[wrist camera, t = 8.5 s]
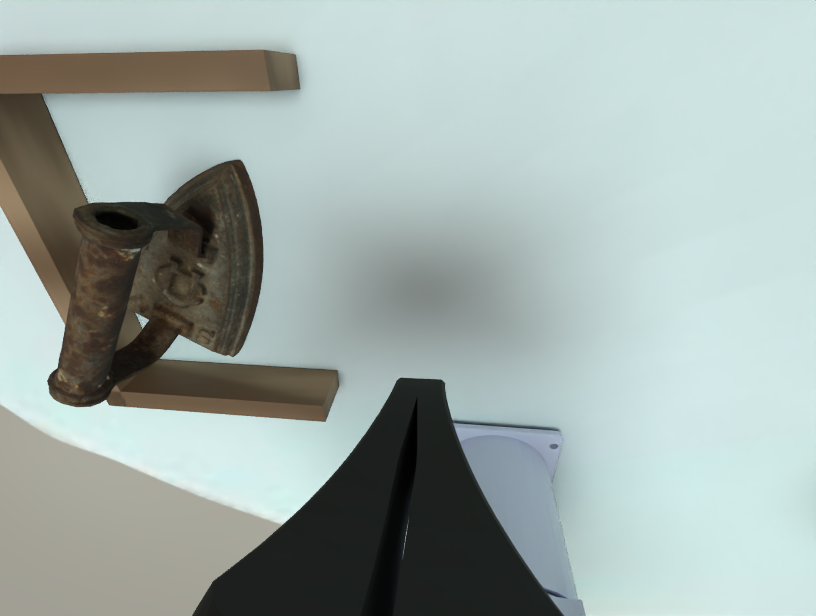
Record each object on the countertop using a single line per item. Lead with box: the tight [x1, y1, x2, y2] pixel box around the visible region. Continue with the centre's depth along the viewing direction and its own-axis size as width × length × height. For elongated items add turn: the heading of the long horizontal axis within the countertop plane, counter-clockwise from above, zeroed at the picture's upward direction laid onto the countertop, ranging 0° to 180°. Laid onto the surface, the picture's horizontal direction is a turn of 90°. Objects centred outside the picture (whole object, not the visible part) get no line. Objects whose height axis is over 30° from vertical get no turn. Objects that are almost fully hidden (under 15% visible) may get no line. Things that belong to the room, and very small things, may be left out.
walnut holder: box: [0, 50, 339, 422], centre depth 19 cm, size 17×13×3 cm
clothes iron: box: [47, 160, 263, 407], centre depth 17 cm, size 7×11×10 cm, turn 150°
